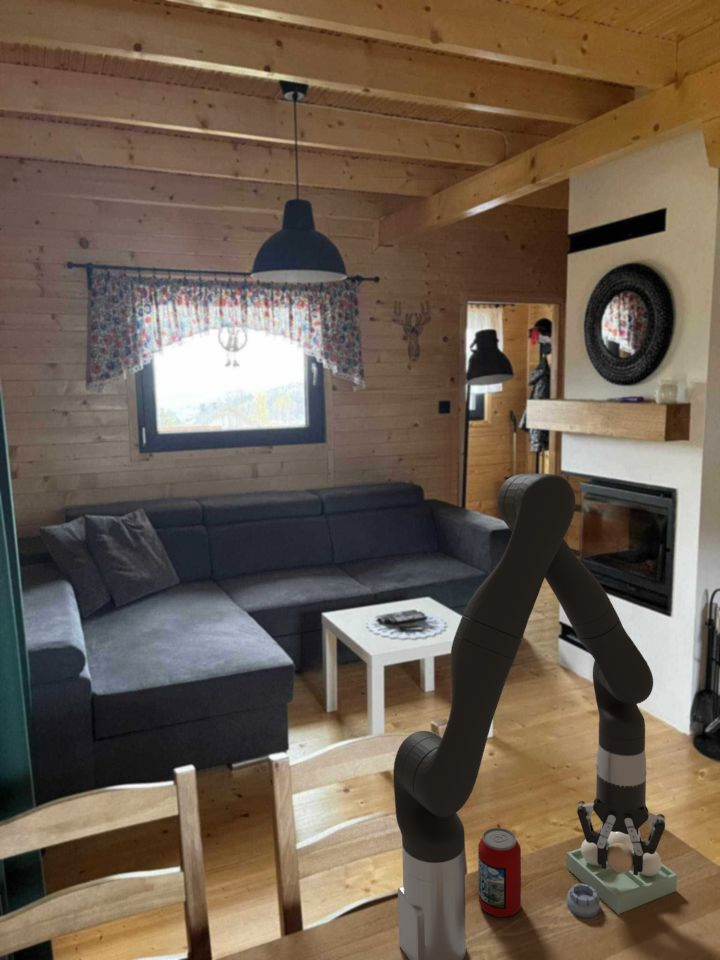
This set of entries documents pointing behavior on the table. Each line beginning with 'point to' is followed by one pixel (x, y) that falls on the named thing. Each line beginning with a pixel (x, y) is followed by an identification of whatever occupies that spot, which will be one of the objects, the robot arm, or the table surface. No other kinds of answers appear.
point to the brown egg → (620, 857)
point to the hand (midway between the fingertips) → (619, 868)
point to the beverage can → (499, 872)
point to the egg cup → (583, 901)
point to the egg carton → (621, 883)
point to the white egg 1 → (589, 852)
